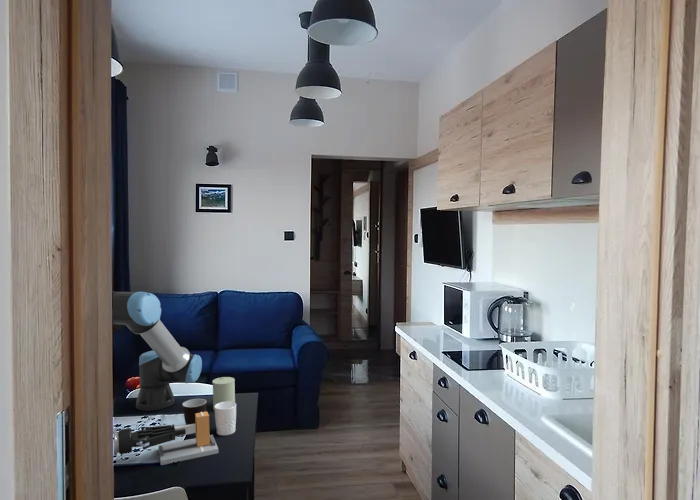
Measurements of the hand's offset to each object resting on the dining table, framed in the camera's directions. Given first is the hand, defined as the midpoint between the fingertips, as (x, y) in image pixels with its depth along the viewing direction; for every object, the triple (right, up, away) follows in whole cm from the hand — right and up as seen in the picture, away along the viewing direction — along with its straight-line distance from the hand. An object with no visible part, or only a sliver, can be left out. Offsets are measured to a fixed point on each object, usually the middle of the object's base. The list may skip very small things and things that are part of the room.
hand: (195, 428), depth 161 cm
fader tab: (+2, -6, +1) cm, 6 cm away
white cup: (+7, -7, +15) cm, 17 cm away
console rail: (-2, -8, -1) cm, 8 cm away
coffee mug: (-5, -7, +19) cm, 21 cm away
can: (0, -6, +39) cm, 39 cm away
